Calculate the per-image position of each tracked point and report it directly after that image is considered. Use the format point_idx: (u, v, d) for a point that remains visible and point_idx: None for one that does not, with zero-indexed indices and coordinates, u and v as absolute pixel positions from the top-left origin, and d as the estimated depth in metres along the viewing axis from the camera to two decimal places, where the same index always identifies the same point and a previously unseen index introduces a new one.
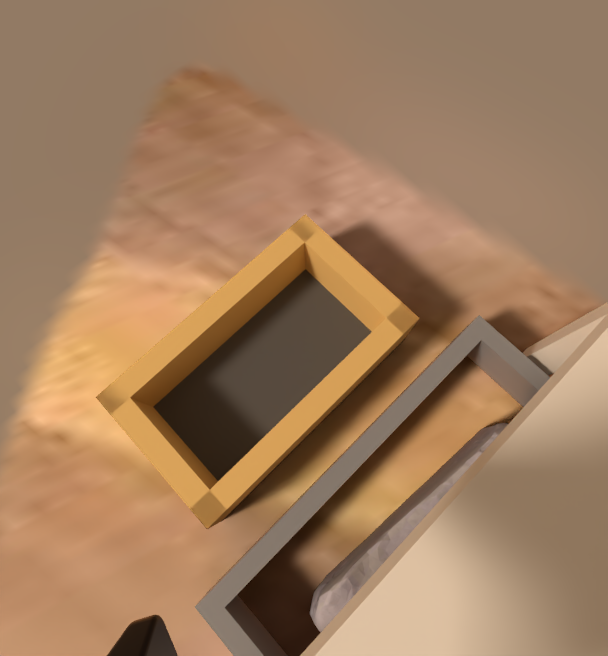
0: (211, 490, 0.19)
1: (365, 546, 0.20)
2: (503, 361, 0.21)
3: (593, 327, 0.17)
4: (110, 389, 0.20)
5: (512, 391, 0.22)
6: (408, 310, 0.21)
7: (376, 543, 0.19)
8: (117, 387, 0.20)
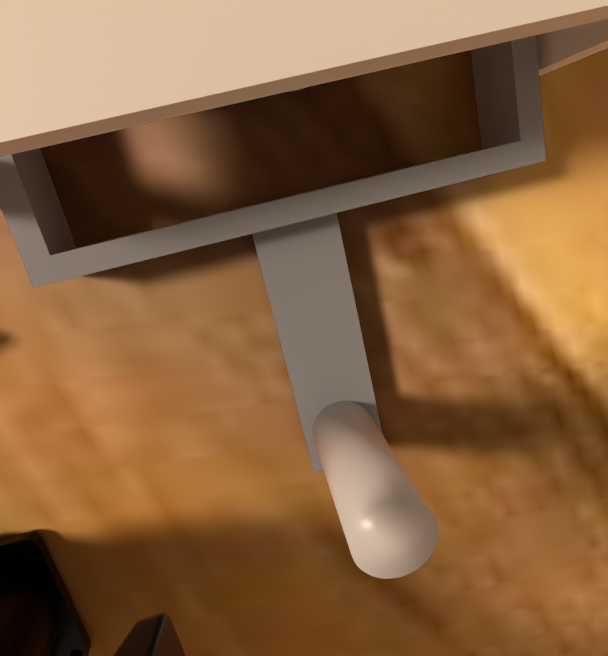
0: None
1: None
2: None
3: None
4: None
5: None
6: None
7: None
8: None
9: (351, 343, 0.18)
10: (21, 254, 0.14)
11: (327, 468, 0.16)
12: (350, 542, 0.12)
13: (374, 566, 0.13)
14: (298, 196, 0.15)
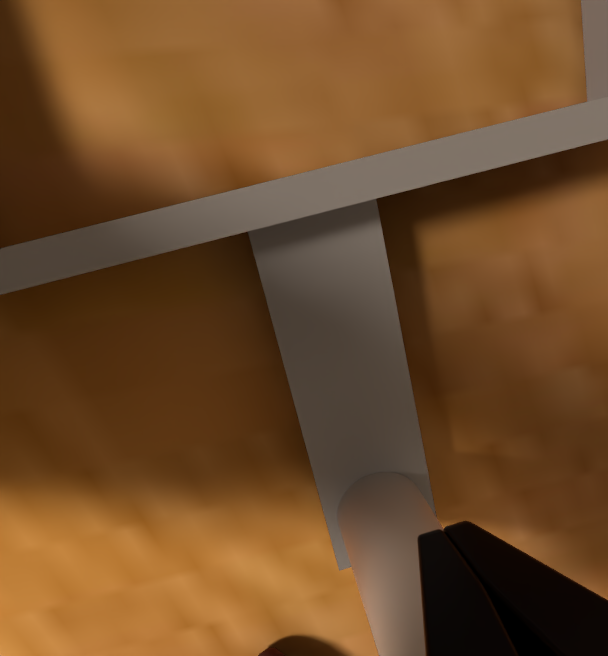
0: None
1: None
2: None
3: None
4: None
5: None
6: None
7: None
8: None
9: (394, 391, 0.12)
10: None
11: (367, 599, 0.10)
12: None
13: None
14: (321, 170, 0.09)
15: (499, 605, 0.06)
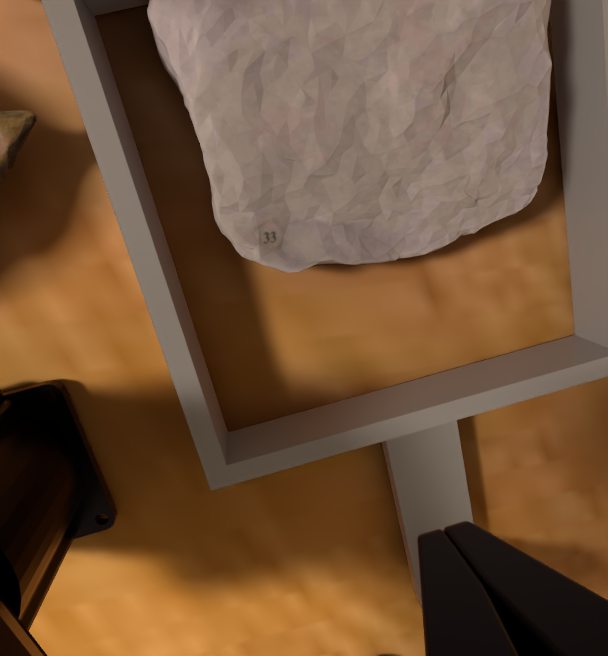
0: None
1: None
2: None
3: None
4: None
5: (558, 2, 0.16)
6: None
7: None
8: None
9: (460, 503, 0.20)
10: (203, 466, 0.17)
11: None
12: None
13: None
14: (432, 407, 0.17)
15: (499, 605, 0.06)
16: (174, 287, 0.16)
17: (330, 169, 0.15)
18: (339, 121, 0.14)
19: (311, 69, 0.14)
